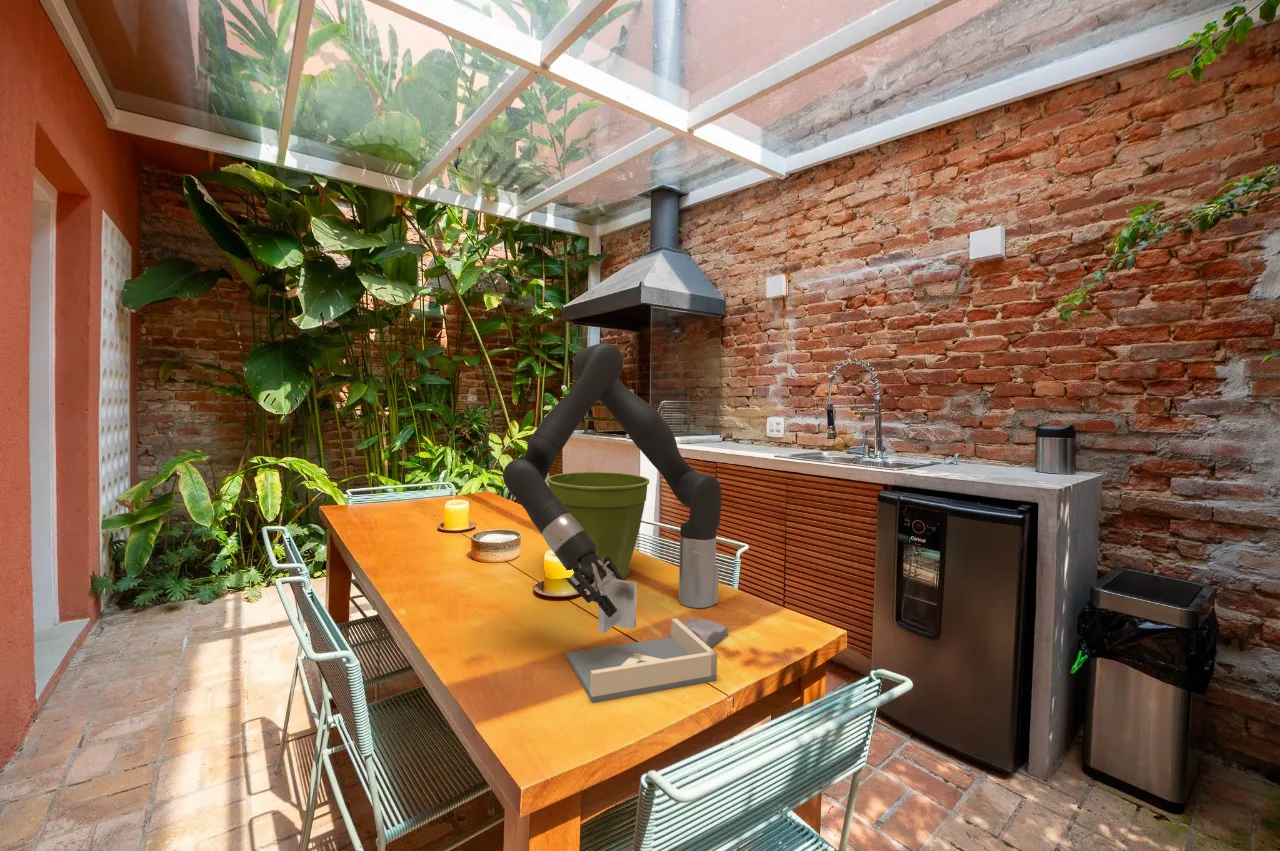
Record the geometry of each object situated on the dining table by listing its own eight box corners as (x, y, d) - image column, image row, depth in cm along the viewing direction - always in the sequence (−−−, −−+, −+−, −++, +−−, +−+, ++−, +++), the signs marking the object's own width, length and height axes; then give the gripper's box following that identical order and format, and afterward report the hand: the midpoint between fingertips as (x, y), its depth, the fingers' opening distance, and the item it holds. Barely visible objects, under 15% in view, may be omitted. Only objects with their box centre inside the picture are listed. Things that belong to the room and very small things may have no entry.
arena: (676, 641, 122) (676, 618, 122) (716, 680, 106) (717, 653, 105) (566, 657, 114) (567, 632, 114) (592, 702, 97) (592, 673, 97)
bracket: (611, 622, 115) (612, 578, 114) (636, 627, 113) (637, 582, 112) (598, 632, 110) (599, 586, 109) (623, 637, 108) (624, 590, 107)
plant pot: (524, 575, 165) (525, 477, 164) (596, 555, 188) (598, 469, 187) (597, 600, 146) (598, 489, 145) (668, 575, 169) (670, 479, 167)
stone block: (665, 649, 121) (708, 653, 116) (664, 626, 122) (706, 629, 117) (690, 639, 131) (731, 642, 126) (689, 617, 132) (729, 619, 127)
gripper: (561, 537, 107) (616, 610, 103) (597, 522, 121) (648, 587, 116) (537, 561, 110) (590, 633, 106) (575, 544, 123) (624, 608, 119)
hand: (620, 608), depth 111 cm, fingers closed on bracket, 5 cm apart
